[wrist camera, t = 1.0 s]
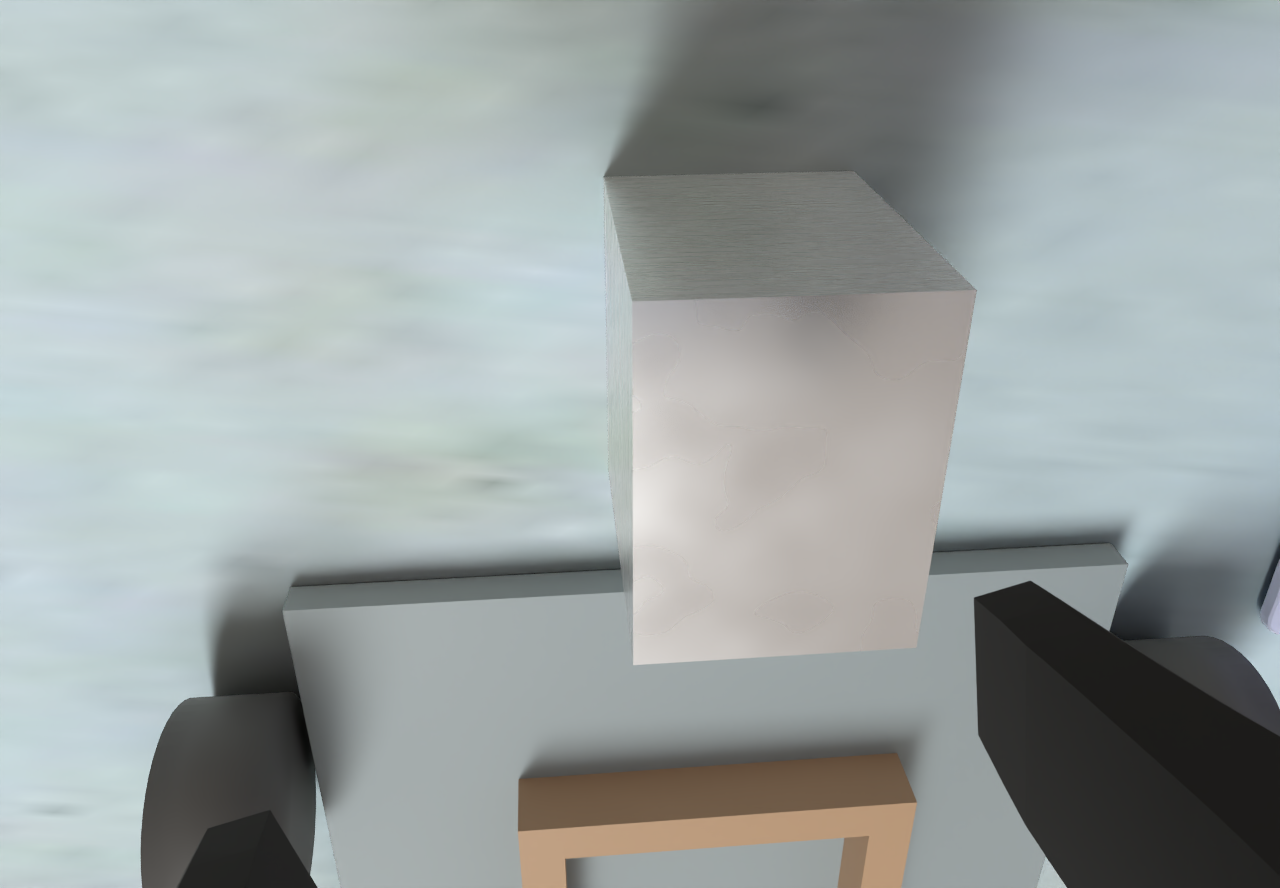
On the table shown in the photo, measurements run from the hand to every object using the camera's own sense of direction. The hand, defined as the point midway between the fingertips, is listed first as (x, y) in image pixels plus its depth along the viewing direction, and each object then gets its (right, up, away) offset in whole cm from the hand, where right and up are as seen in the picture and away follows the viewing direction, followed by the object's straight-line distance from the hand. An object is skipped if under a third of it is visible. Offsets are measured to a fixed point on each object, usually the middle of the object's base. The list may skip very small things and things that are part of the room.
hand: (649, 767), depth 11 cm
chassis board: (+2, -9, +17) cm, 19 cm away
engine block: (+2, +5, +10) cm, 11 cm away
